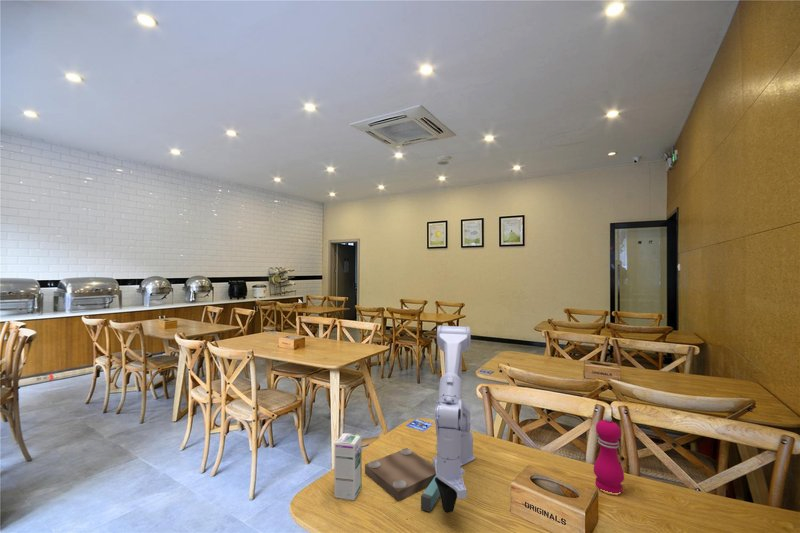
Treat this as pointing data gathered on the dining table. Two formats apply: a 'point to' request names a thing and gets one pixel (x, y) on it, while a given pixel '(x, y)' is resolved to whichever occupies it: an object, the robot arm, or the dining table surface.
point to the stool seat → (401, 473)
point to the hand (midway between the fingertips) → (448, 510)
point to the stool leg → (430, 496)
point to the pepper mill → (608, 457)
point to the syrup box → (348, 466)
